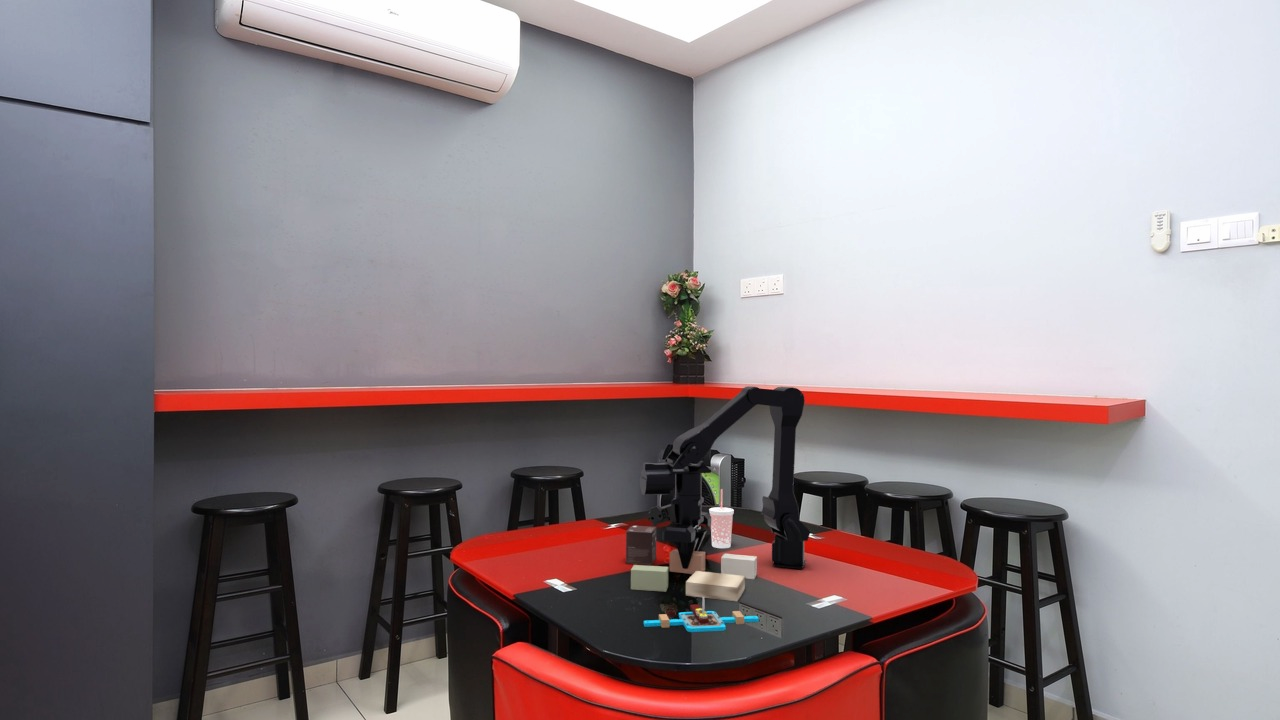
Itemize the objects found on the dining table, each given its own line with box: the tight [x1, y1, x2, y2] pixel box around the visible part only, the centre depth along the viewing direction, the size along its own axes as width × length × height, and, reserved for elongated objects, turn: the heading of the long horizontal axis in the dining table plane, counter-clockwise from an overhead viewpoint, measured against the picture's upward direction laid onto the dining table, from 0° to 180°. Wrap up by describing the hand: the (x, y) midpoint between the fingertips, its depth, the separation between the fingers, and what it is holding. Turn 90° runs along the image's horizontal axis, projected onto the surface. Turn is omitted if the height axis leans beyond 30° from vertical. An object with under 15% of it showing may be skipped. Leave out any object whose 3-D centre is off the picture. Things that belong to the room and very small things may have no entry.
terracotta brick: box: [669, 548, 706, 575], centre depth 152 cm, size 7×4×4 cm, turn 71°
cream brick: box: [720, 553, 758, 580], centre depth 149 cm, size 7×4×4 cm, turn 72°
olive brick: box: [630, 564, 669, 593], centre depth 140 cm, size 7×4×4 cm, turn 81°
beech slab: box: [685, 571, 746, 602], centre depth 138 cm, size 10×8×3 cm
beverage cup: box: [708, 488, 735, 549], centre depth 174 cm, size 6×6×14 cm
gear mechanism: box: [643, 597, 760, 633], centre depth 122 cm, size 20×5×9 cm
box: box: [625, 525, 657, 566], centre depth 160 cm, size 6×6×7 cm
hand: (687, 566), depth 152 cm, fingers closed on terracotta brick, 3 cm apart
